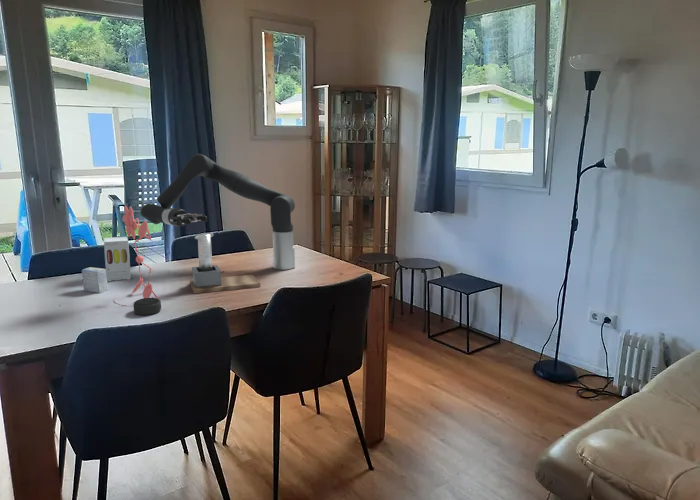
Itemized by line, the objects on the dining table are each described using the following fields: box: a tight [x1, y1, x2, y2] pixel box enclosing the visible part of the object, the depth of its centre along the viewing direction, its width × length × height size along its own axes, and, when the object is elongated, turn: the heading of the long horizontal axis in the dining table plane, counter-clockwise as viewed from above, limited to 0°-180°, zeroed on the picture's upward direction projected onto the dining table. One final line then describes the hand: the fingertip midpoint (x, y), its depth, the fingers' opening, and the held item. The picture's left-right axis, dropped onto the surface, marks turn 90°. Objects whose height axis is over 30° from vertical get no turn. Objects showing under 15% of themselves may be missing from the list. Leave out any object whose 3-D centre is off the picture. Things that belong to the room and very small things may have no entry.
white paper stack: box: [81, 266, 109, 294], centre depth 205 cm, size 8×4×9 cm, turn 71°
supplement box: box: [103, 236, 132, 282], centre depth 222 cm, size 10×9×17 cm
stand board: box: [189, 274, 261, 294], centre depth 214 cm, size 26×14×2 cm, turn 112°
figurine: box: [113, 205, 159, 307], centre depth 192 cm, size 15×26×35 cm, turn 38°
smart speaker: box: [132, 297, 162, 316], centre depth 182 cm, size 9×9×4 cm
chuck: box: [191, 264, 222, 288], centre depth 211 cm, size 10×10×6 cm
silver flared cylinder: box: [194, 232, 214, 272], centre depth 209 cm, size 8×5×20 cm, turn 142°
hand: (198, 220), depth 222 cm, fingers open, 8 cm apart
